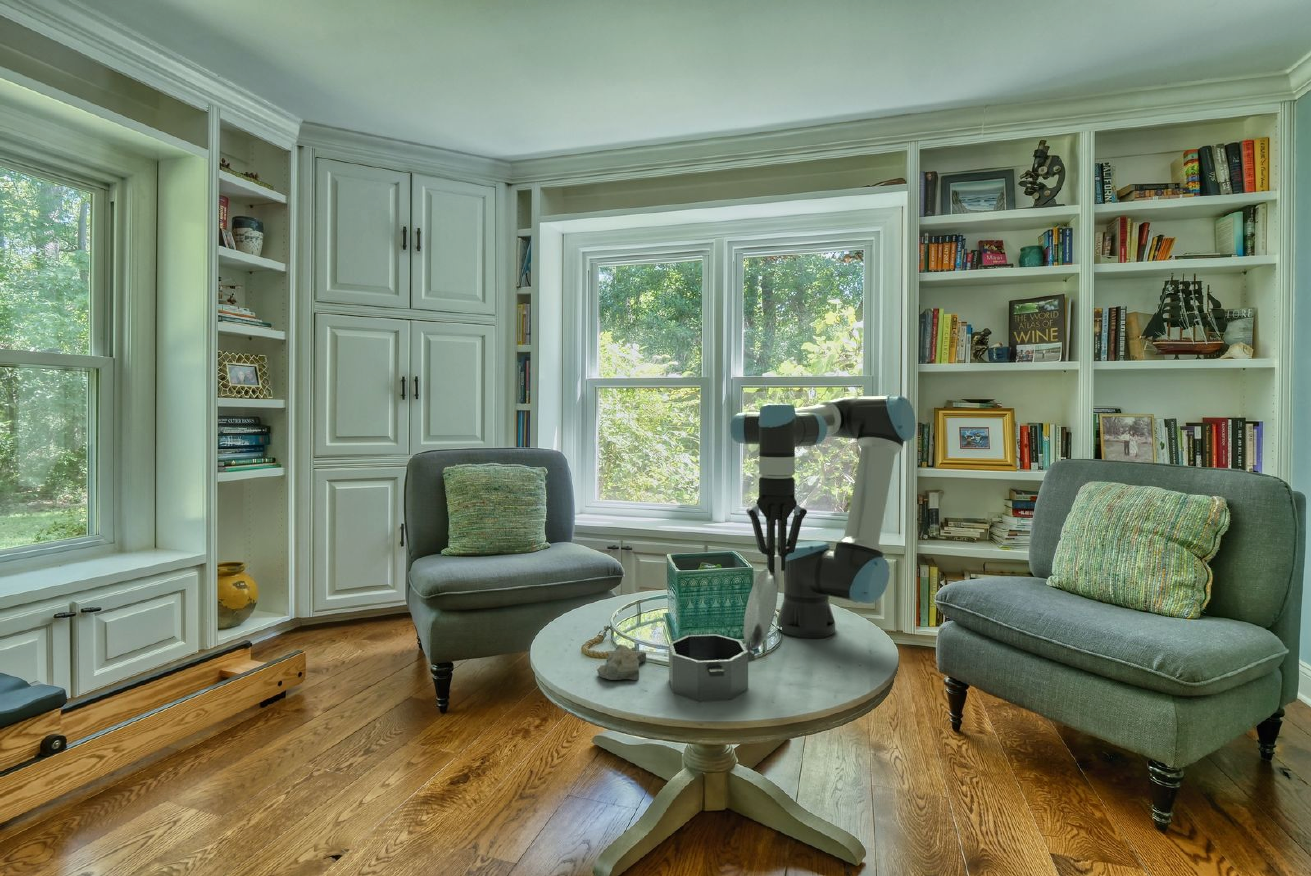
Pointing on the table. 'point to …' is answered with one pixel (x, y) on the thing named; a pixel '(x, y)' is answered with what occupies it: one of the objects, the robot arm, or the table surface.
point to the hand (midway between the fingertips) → (776, 585)
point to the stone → (622, 664)
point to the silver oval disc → (760, 609)
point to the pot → (709, 667)
